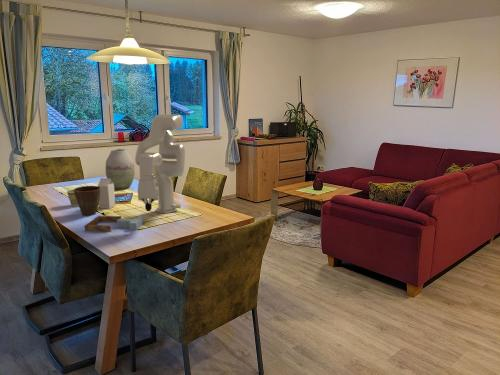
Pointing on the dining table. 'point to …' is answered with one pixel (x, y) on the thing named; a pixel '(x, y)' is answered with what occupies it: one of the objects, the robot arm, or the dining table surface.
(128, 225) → the t block
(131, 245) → the dining table surface
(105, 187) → the milk carton
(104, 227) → the corral
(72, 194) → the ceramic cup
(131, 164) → the vase
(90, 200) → the plant pot
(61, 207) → the dining table surface
